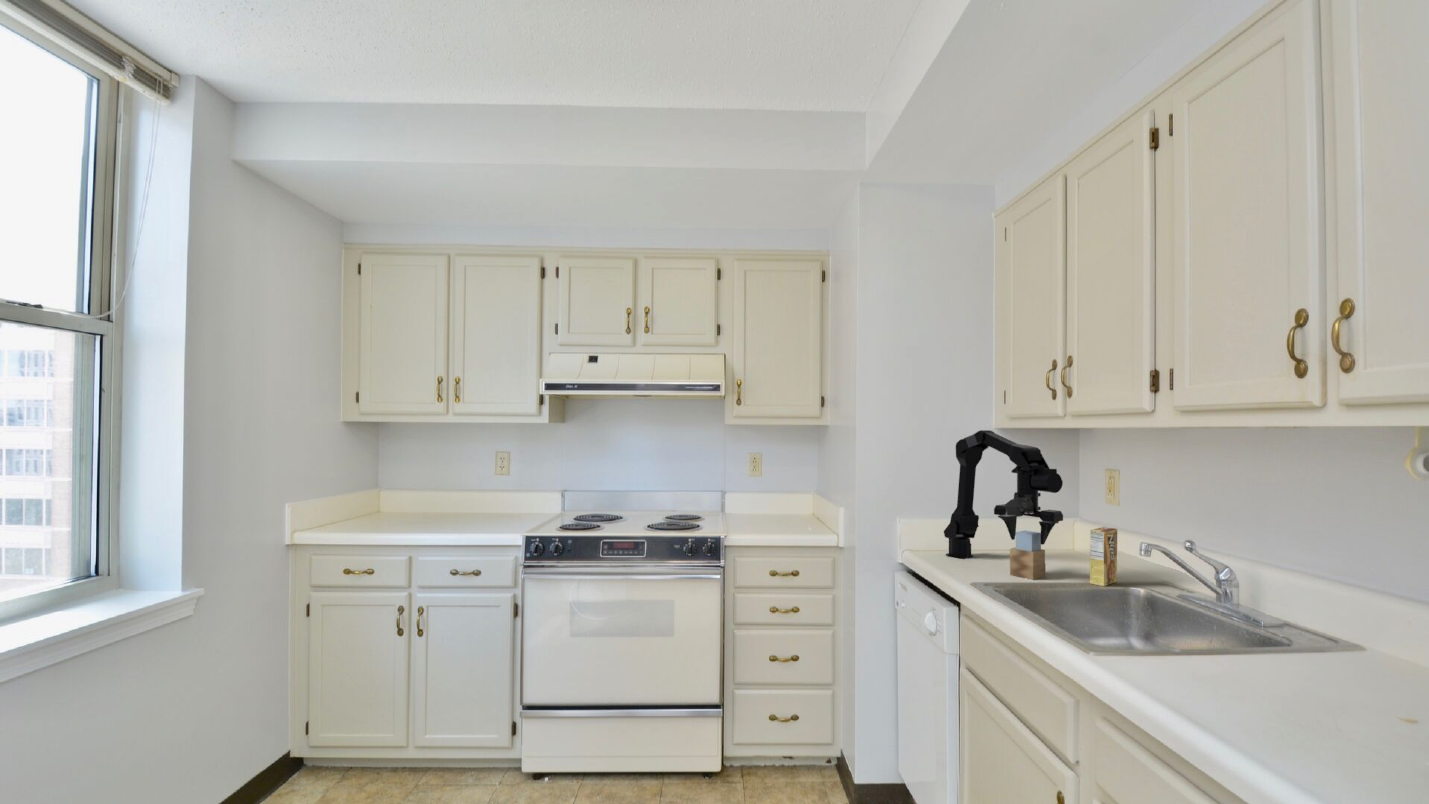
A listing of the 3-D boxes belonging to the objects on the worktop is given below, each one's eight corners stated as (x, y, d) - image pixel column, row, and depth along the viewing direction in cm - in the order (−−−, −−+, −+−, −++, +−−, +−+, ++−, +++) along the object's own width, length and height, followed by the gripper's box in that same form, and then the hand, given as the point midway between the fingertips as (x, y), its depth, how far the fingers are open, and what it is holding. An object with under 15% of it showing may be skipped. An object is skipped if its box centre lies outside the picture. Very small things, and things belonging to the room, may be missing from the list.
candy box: (1102, 579, 201) (1102, 526, 201) (1118, 582, 197) (1117, 528, 198) (1089, 583, 195) (1089, 529, 195) (1105, 586, 192) (1105, 531, 192)
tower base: (1010, 575, 205) (1010, 562, 205) (1022, 572, 209) (1022, 559, 209) (1032, 580, 199) (1032, 566, 199) (1045, 577, 203) (1045, 563, 203)
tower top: (1010, 562, 205) (1010, 548, 205) (1021, 559, 209) (1021, 546, 209) (1033, 566, 199) (1033, 552, 199) (1044, 563, 204) (1044, 549, 204)
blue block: (1015, 548, 205) (1015, 531, 205) (1024, 547, 208) (1024, 530, 208) (1031, 551, 201) (1031, 534, 201) (1040, 549, 204) (1040, 532, 204)
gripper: (983, 487, 208) (983, 539, 207) (1043, 493, 192) (1043, 550, 192) (1004, 485, 214) (1004, 536, 214) (1064, 491, 199) (1064, 545, 199)
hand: (1027, 541), depth 204 cm, fingers open, 9 cm apart
